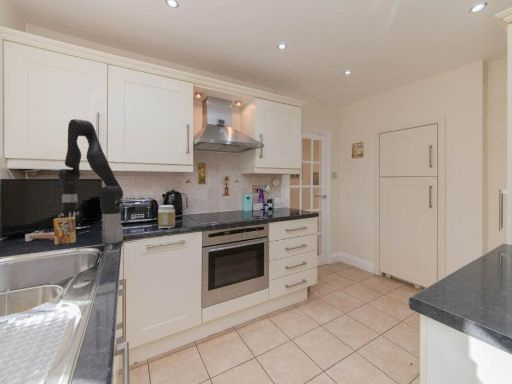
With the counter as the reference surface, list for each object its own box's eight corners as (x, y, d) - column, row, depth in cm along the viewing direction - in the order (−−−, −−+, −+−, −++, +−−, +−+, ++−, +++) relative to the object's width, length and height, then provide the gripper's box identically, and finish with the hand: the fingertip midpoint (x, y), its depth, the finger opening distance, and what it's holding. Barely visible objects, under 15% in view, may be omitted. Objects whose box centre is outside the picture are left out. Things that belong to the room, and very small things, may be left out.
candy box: (76, 243, 132) (75, 217, 132) (75, 245, 129) (74, 218, 128) (56, 245, 128) (55, 218, 127) (54, 247, 124) (53, 219, 123)
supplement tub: (159, 226, 182) (159, 205, 181) (175, 225, 185) (175, 204, 184) (157, 229, 170) (156, 206, 169) (174, 228, 174) (174, 206, 173)
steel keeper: (18, 241, 130) (17, 234, 130) (37, 237, 140) (37, 230, 140) (34, 242, 129) (34, 235, 129) (52, 237, 140) (52, 230, 140)
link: (29, 238, 137) (29, 233, 137) (37, 236, 142) (37, 231, 141) (63, 239, 135) (63, 234, 135) (70, 237, 140) (70, 232, 140)
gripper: (77, 200, 151) (77, 226, 152) (53, 201, 138) (54, 230, 139) (85, 200, 148) (85, 227, 149) (61, 202, 136) (62, 231, 137)
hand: (70, 228), depth 144 cm, fingers closed
